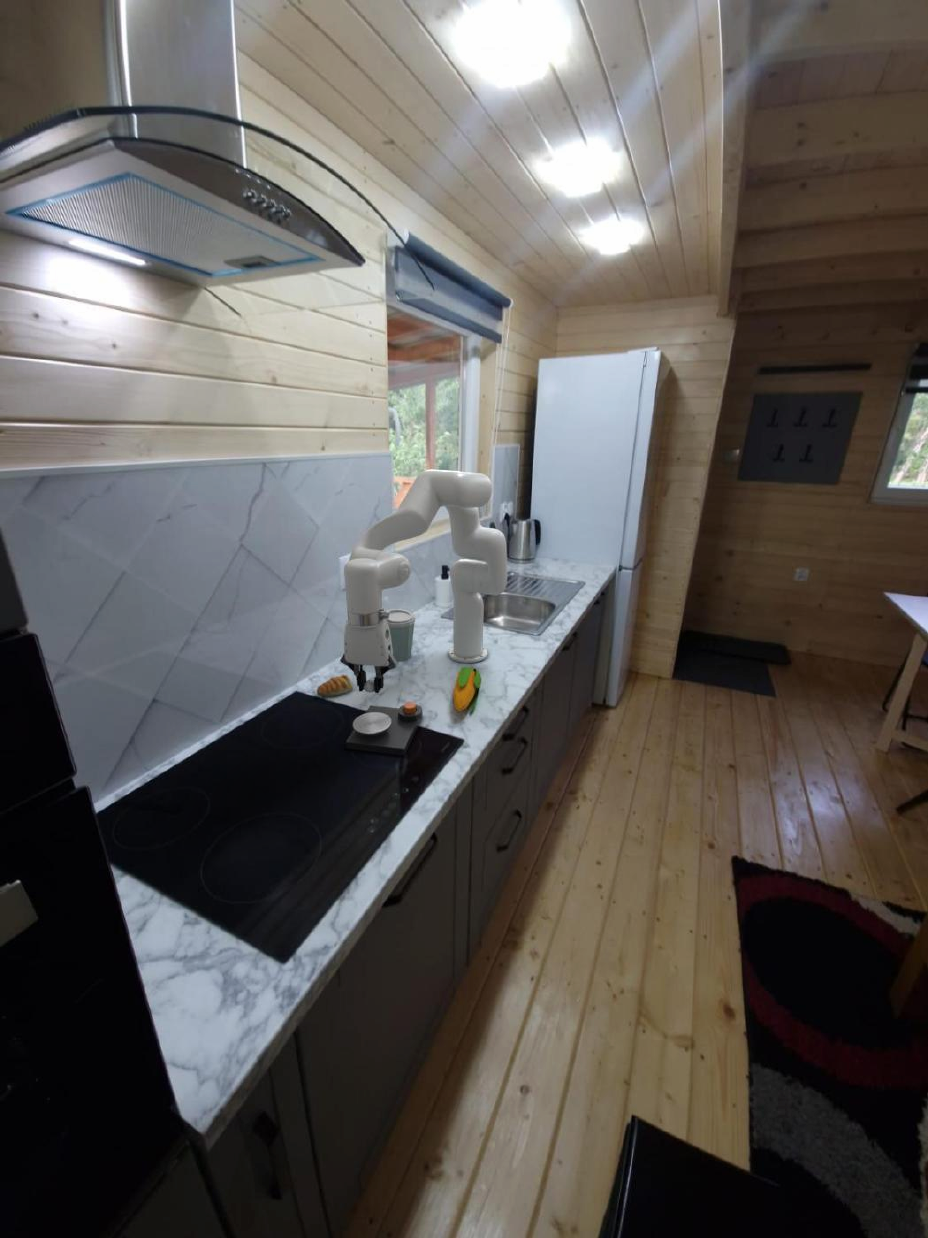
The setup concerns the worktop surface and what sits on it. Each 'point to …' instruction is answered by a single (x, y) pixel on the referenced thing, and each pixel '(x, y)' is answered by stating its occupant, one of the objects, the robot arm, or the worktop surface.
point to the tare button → (409, 707)
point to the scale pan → (372, 723)
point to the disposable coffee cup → (401, 632)
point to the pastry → (335, 686)
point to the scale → (389, 732)
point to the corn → (466, 688)
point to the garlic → (369, 686)
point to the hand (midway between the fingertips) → (370, 688)
